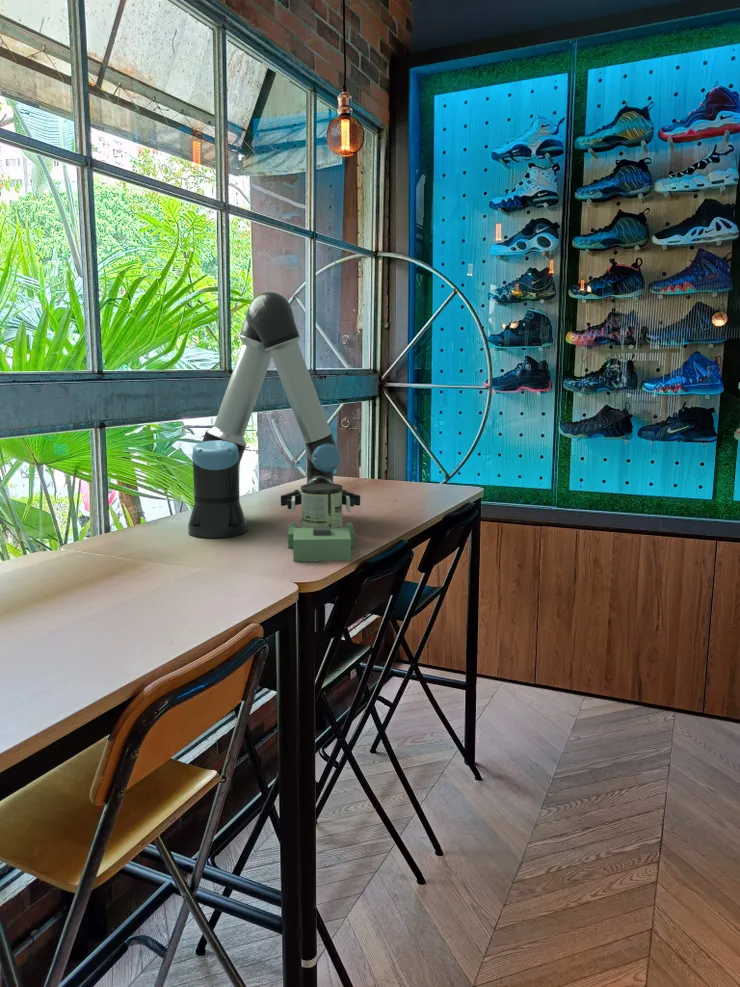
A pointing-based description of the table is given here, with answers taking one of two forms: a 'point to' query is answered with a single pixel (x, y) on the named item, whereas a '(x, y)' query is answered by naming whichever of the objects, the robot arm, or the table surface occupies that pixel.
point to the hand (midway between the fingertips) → (320, 506)
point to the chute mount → (321, 543)
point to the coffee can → (321, 505)
